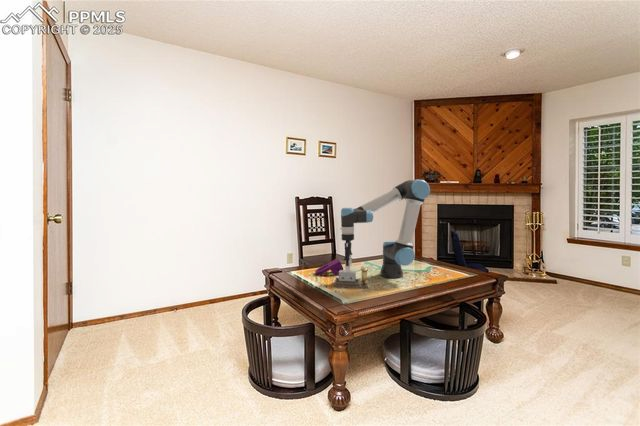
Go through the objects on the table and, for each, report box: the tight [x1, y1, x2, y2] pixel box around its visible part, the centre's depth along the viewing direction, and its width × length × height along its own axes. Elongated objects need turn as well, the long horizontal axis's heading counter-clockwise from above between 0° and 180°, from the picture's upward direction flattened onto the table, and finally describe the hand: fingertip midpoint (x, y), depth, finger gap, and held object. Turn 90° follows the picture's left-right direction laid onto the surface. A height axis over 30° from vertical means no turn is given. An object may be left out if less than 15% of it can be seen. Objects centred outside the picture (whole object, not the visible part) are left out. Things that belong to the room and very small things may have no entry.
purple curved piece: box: [314, 258, 344, 276], centre depth 225 cm, size 9×8×18 cm
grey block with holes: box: [338, 269, 357, 283], centre depth 199 cm, size 10×5×7 cm, turn 81°
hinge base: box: [333, 267, 369, 290], centre depth 199 cm, size 20×12×10 cm, turn 81°
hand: (348, 268), depth 199 cm, fingers open, 13 cm apart
